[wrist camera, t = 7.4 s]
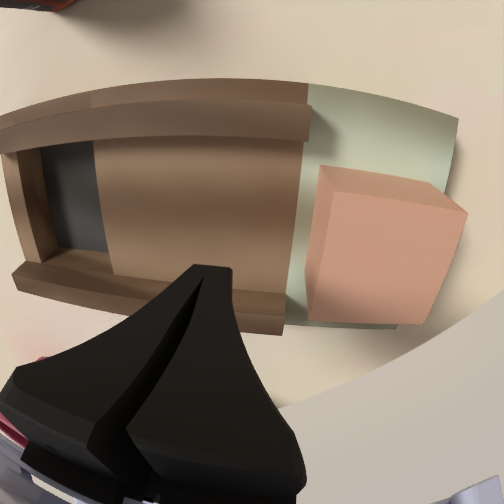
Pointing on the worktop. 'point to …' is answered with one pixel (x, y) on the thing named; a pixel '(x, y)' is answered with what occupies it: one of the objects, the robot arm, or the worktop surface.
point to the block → (378, 247)
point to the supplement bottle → (36, 4)
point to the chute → (197, 186)
